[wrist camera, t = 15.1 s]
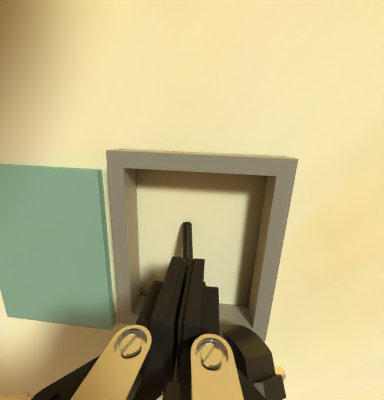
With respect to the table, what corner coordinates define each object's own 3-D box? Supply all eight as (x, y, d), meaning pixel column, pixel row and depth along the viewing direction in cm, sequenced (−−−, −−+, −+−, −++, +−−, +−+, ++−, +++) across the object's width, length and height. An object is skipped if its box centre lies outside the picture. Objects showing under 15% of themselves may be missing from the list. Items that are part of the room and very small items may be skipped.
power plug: (206, 205, 13) (233, 537, 6) (270, 233, 17) (322, 445, 11) (155, 233, 16) (142, 463, 10) (219, 249, 21) (237, 416, 14)
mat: (-25, 162, 15) (-34, 163, 15) (101, 169, 15) (97, 170, 14) (13, 311, 19) (7, 316, 19) (114, 324, 19) (111, 329, 18)
